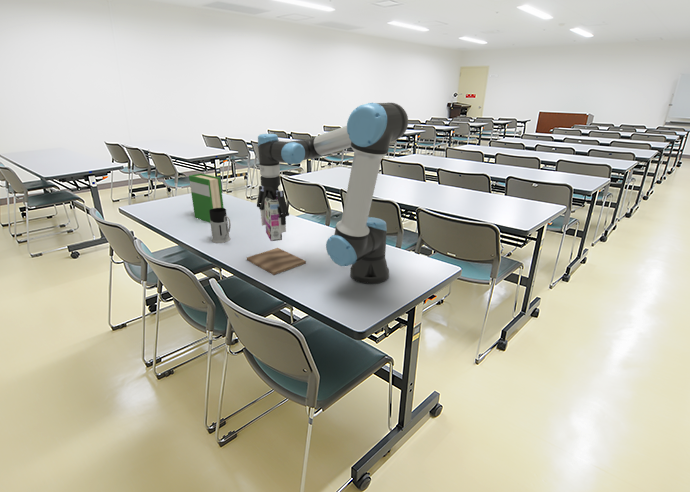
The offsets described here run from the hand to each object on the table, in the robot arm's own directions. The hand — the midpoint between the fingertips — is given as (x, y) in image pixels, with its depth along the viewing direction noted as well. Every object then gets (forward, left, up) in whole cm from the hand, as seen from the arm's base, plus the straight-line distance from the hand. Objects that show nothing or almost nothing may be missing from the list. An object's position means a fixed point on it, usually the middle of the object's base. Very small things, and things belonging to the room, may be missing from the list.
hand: (273, 228), depth 158 cm
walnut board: (0, 0, -15) cm, 15 cm away
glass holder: (+37, +4, -15) cm, 40 cm away
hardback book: (+74, -7, -15) cm, 76 cm away
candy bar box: (0, 0, -4) cm, 4 cm away
